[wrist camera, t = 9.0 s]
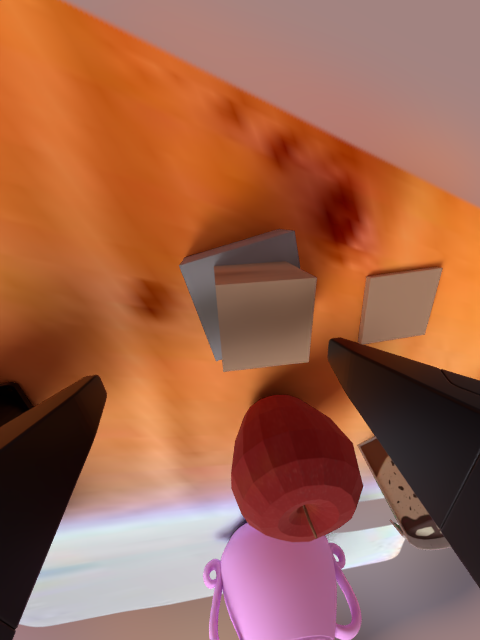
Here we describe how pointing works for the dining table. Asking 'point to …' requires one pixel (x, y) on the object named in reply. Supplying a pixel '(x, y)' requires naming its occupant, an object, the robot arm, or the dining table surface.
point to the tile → (397, 304)
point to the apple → (293, 471)
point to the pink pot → (280, 588)
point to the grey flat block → (246, 251)
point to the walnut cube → (264, 314)
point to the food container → (402, 500)
